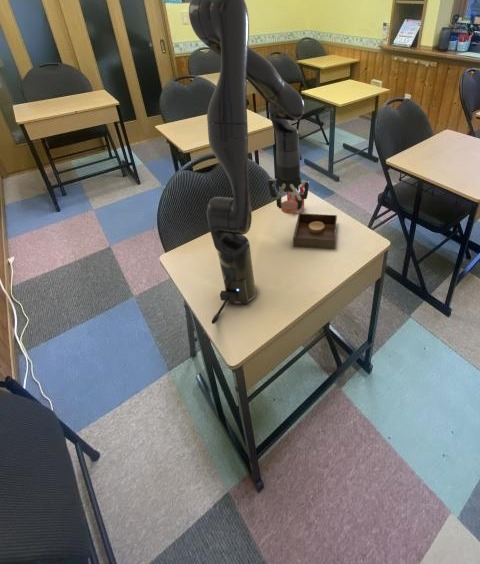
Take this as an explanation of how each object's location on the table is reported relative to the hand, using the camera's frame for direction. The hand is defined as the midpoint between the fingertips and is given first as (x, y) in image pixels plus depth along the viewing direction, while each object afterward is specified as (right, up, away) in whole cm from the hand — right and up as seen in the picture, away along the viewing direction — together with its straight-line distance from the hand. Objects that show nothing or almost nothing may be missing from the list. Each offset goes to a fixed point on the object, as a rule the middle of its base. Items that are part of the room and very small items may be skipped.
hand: (289, 207), depth 123 cm
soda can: (+2, +4, +27) cm, 27 cm away
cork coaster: (+10, -5, +15) cm, 19 cm away
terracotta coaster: (0, 0, 0) cm, 1 cm away
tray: (+10, -8, +12) cm, 18 cm away
